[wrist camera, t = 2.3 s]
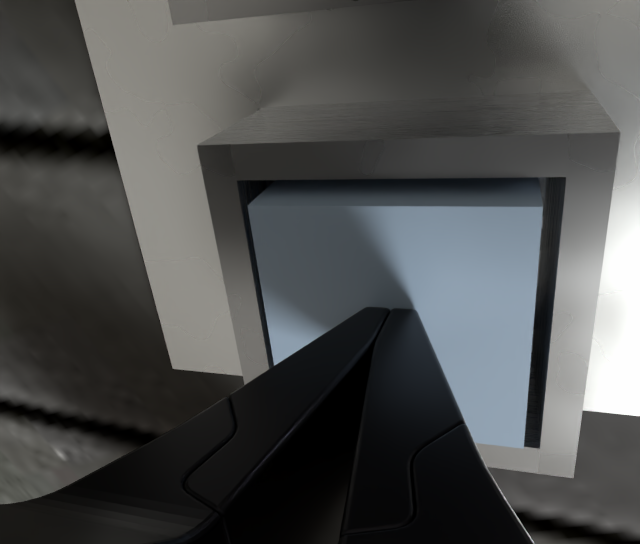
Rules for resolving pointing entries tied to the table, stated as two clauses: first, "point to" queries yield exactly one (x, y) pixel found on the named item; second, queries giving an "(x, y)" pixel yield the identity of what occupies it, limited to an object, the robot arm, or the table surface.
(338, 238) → the slate-blue key
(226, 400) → the robot arm
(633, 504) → the table surface
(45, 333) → the table surface
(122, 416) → the table surface
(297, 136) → the key panel
